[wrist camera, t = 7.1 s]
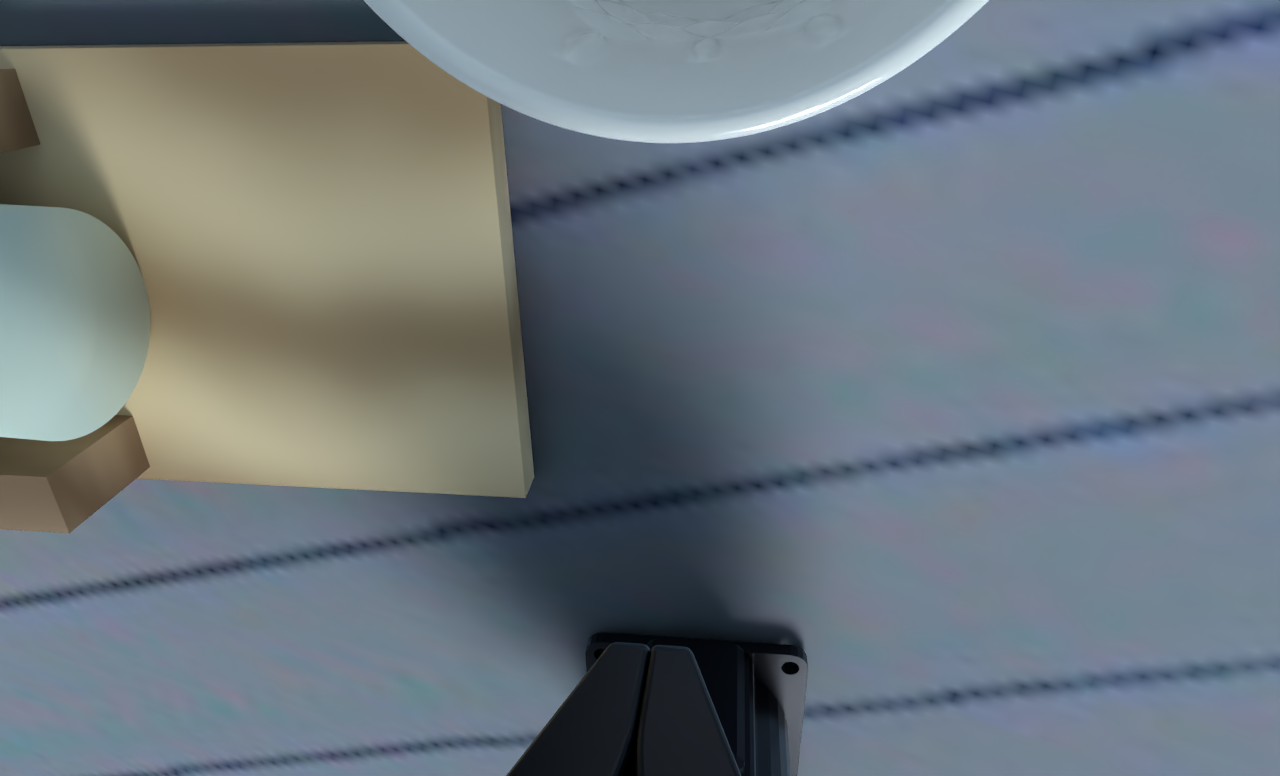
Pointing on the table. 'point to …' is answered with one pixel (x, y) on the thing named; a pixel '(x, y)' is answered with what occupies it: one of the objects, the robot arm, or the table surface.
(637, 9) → the white cup
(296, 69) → the cradle board
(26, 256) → the bottle
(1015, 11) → the table surface
